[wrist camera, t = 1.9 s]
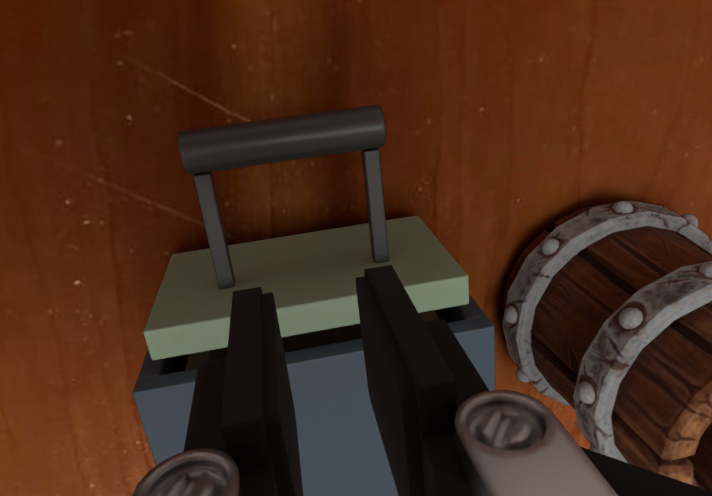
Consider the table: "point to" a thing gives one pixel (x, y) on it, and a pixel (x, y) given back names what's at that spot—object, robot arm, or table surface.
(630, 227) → the mug
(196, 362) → the drawer
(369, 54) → the table surface
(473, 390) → the robot arm
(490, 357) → the cabinet
